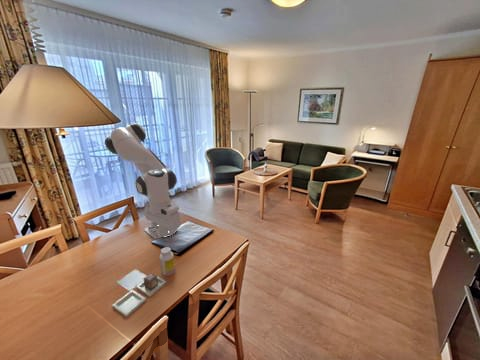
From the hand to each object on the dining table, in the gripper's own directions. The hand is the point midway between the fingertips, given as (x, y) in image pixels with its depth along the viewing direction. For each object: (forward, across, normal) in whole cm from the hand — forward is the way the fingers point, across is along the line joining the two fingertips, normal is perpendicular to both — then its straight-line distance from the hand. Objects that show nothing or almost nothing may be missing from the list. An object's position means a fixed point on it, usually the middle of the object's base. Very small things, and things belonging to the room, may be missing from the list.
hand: (163, 231), depth 101 cm
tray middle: (+23, +1, -11) cm, 26 cm away
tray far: (+23, +1, -22) cm, 32 cm away
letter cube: (+22, +1, -11) cm, 25 cm away
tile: (+23, -10, -13) cm, 28 cm away
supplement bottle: (+23, 0, 0) cm, 23 cm away
